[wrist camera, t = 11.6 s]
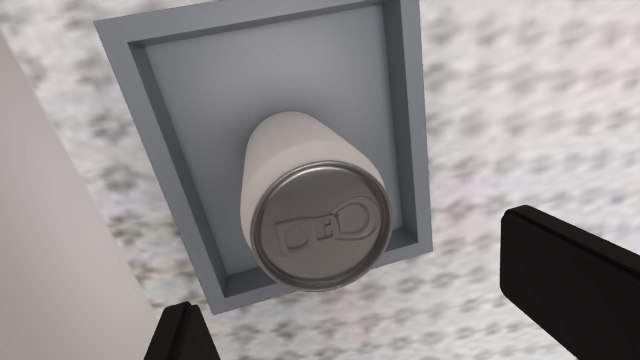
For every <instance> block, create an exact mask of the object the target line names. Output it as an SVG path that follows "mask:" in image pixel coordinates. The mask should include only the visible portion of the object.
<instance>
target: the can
mask: <svg viewBox="0 0 640 360" xmlns="http://www.w3.org/2000/svg"><path fill="white" fill-rule="evenodd" d="M240 218H241V225H242V230H243V234H244V237H245V239H246V241H247V243H248V245H249V247H250V248H251V250H252V251H253V254H254V257H255V259H256V261H257V262H258V264H259V266H260V267H261V268H262V270H263V271H264V272H265V273H266V274H267V275H268V276H269V277H270V278H272V279H273V280H274V281H276V282H277V283H279V284H281V285H283V286H285V287H288V288H290V289H294V290H298V291H303V292H324V291H330V290H334V289H338V288H341V287H343V286H346V285H348V284H350V283H352V282H354V281H356V280H357V279H359V278H360V277H362V276H363V275H364V274H366V273H367V272H368V271H369V270H370V269H371V268H372V267H373V266H374V265H375V264H376V263H377V262H378V260H379V259H380V258H381V256H382V255H383V253H384V252H385V250H386V248H387V246H388V243H389V241H390V238H391V234H392V229H393V209H392V205H391V201H390V198H389V196H388V194H387V192H386V190H385V186H384V183H383V180H382V178H381V176H380V174H379V172H378V171H377V169H376V168H375V166H374V165H373V164H372V163H371V161H370V160H369V159H368V158H367V157H366V156H364V155H363V154H362V153H361V152H360V151H359V150H357V149H356V148H355V147H353V146H352V145H351V144H350V143H348V142H347V141H346V140H344V139H343V138H342V137H340V136H339V135H338V134H336V133H335V132H333V131H332V130H331V129H329V128H328V127H327V126H325V125H324V124H322V123H321V122H320V121H318V120H317V119H315V118H313V117H312V116H310V115H307V114H304V113H301V112H295V111H286V112H280V113H277V114H274V115H272V116H270V117H268V118H266V119H265V120H263V121H262V122H261V123H260V124H259V125H258V126H257V127H256V128H255V130H254V131H253V132H252V134H251V136H250V138H249V141H248V144H247V148H246V155H245V163H244V172H243V182H242V192H241V205H240Z"/></svg>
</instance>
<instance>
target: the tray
mask: <svg viewBox="0 0 640 360" xmlns="http://www.w3.org/2000/svg"><path fill="white" fill-rule="evenodd" d="M93 22H94V25H95V27H96V30H97V32H98V35H99V37H100V40H101V42H102V44H103V47H104V49H105V52H106V54H107V57H108V59H109V62H110V64H111V66H112V69H113V71H114V74H115V76H116V79H117V81H118V84H119V86H120V88H121V91H122V93H123V96H124V98H125V101H126V103H127V106H128V108H129V110H130V113H131V115H132V118H133V120H134V123H135V125H136V128H137V130H138V133H139V135H140V137H141V140H142V142H143V145H144V147H145V150H146V152H147V155H148V157H149V159H150V162H151V164H152V167H153V169H154V172H155V174H156V177H157V179H158V181H159V184H160V186H161V189H162V191H163V194H164V196H165V199H166V201H167V203H168V206H169V208H170V211H171V213H172V216H173V218H174V221H175V223H176V226H177V228H178V230H179V233H180V235H181V238H182V240H183V243H184V245H185V248H186V250H187V252H188V255H189V257H190V260H191V262H192V265H193V267H194V270H195V272H196V274H197V277H198V279H199V282H200V284H201V287H202V289H203V292H204V294H205V296H206V299H207V301H208V304H209V306H210V309H211V311H212V314H213V315H216V314H219V313H223V312H226V311H230V310H233V309H237V308H240V307H243V306H247V305H250V304H254V303H257V302H260V301H264V300H267V299H271V298H274V297H278V296H281V295H284V294H288V293H291V292H295V291H298V290H294V289H290V288H288V287H285V286H283V285H281V284H279V283H277V282H276V281H274V280H273V279H272V278H270V277H269V276H268V275H267V274H266V273H265V272H264V271H263V270H262V268H261V267H260V266H259V264H258V262H257V261H256V259H255V257H254V254H253V251H252V250H251V248H250V247H249V245H248V243H247V241H246V239H245V237H244V234H243V230H242V225H241V218H240V205H241V192H242V182H243V172H244V163H245V155H246V148H247V144H248V141H249V138H250V136H251V134H252V132H253V131H254V130H255V128H256V127H257V126H258V125H259V124H260V123H261V122H262V121H263V120H265V119H266V118H268V117H270V116H272V115H274V114H277V113H280V112H286V111H295V112H301V113H304V114H307V115H310V116H312V117H313V118H315V119H317V120H318V121H320V122H321V123H322V124H324V125H325V126H327V127H328V128H329V129H331V130H332V131H333V132H335V133H336V134H338V135H339V136H340V137H342V138H343V139H344V140H346V141H347V142H348V143H350V144H351V145H352V146H353V147H355V148H356V149H357V150H359V151H360V152H361V153H362V154H363V155H364V156H366V157H367V158H368V159H369V160H370V161H371V163H372V164H373V165H374V166H375V168H376V169H377V171H378V172H379V174H380V176H381V178H382V180H383V183H384V186H385V190H386V192H387V194H388V196H389V198H390V201H391V205H392V209H393V229H392V234H391V238H390V241H389V243H388V246H387V248H386V250H385V252H384V253H383V255H382V256H381V258H380V259H379V260H378V262H377V263H376V264H375V265H374V266H373V267H372V268H371V269H373V268H377V267H380V266H384V265H387V264H390V263H394V262H397V261H401V260H404V259H407V258H411V257H414V256H418V255H421V254H425V253H428V252H431V251H433V246H432V227H431V209H430V191H429V173H428V155H427V136H426V118H425V100H424V82H423V64H422V45H421V27H420V9H419V0H219V1H213V2H207V3H201V4H195V5H189V6H183V7H176V8H170V9H164V10H158V11H152V12H146V13H140V14H134V15H128V16H122V17H115V18H109V19H103V20H97V21H93Z"/></svg>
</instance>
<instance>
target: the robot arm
mask: <svg viewBox="0 0 640 360" xmlns="http://www.w3.org/2000/svg"><path fill="white" fill-rule="evenodd" d="M500 288H501V291H502V293H503V294H504V296H505V297H506V298H508V299H509V300H510V301H511V302H512V303H513V304H515V305H516V306H517V307H518V308H519V309H520V310H522V311H523V312H524V313H525V314H526V315H527V316H529V317H530V318H531V319H532V320H533V321H534V322H536V323H537V324H538V325H539V326H540V327H541V328H543V329H544V330H545V331H546V332H547V333H548V334H550V335H551V336H552V337H553V338H554V339H555V340H557V341H558V342H559V343H560V344H561V345H562V346H563V347H565V348H566V349H567V350H568V351H569V352H570V353H572V354H573V355H574V356H575V357H576V358H577V359H579V360H640V255H638V254H636V253H633V252H631V251H629V250H627V249H625V248H622V247H620V246H618V245H616V244H613V243H611V242H609V241H607V240H605V239H602V238H600V237H598V236H596V235H594V234H591V233H589V232H587V231H585V230H582V229H580V228H578V227H576V226H574V225H571V224H569V223H567V222H565V221H562V220H560V219H558V218H556V217H554V216H551V215H549V214H547V213H545V212H542V211H540V210H538V209H536V208H534V207H531V206H529V205H522V206H518V207H515V208H511V209H508V210H507V211H506V212H505V213H504V216H503V217H502V218H501V247H500ZM144 360H220V357H219V355H218V352H217V350H216V347H215V345H214V342H213V340H212V338H211V335H210V333H209V330H208V328H207V325H206V323H205V321H204V318H203V316H202V313H201V311H200V308H199V307H198V305H191V303H190V302H188V301H186V302H183V303H179V304H176V305H172V306H169V307H166V308H165V309H164V311H163V313H162V315H161V318H160V320H159V323H158V325H157V328H156V330H155V333H154V335H153V337H152V340H151V343H150V345H149V347H148V350H147V353H146V355H145V357H144Z"/></svg>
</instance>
